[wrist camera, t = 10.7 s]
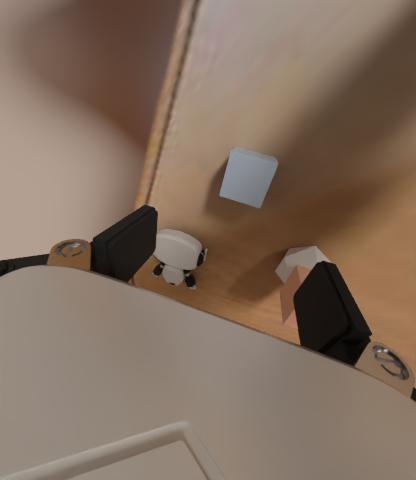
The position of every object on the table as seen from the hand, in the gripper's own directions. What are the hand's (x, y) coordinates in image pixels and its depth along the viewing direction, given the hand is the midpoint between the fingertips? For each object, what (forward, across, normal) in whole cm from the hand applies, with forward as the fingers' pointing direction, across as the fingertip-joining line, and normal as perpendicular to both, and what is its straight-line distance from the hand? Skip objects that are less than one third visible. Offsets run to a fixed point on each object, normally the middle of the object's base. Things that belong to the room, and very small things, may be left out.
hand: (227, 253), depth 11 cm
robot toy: (+23, +9, +21) cm, 32 cm away
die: (+22, -14, +12) cm, 29 cm away
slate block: (+22, 0, 0) cm, 22 cm away
